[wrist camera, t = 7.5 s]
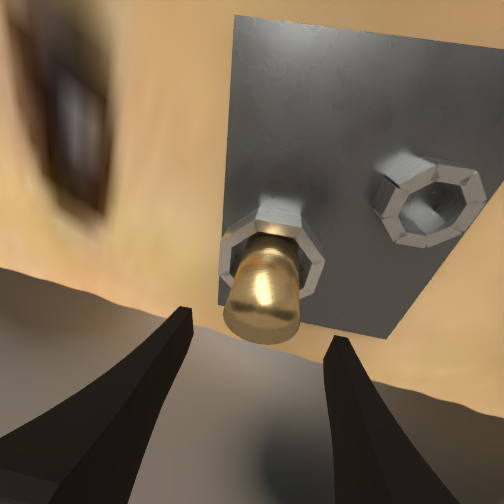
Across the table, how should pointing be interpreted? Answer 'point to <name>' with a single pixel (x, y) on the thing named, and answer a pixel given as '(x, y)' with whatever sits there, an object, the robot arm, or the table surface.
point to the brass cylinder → (265, 291)
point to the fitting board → (358, 161)
